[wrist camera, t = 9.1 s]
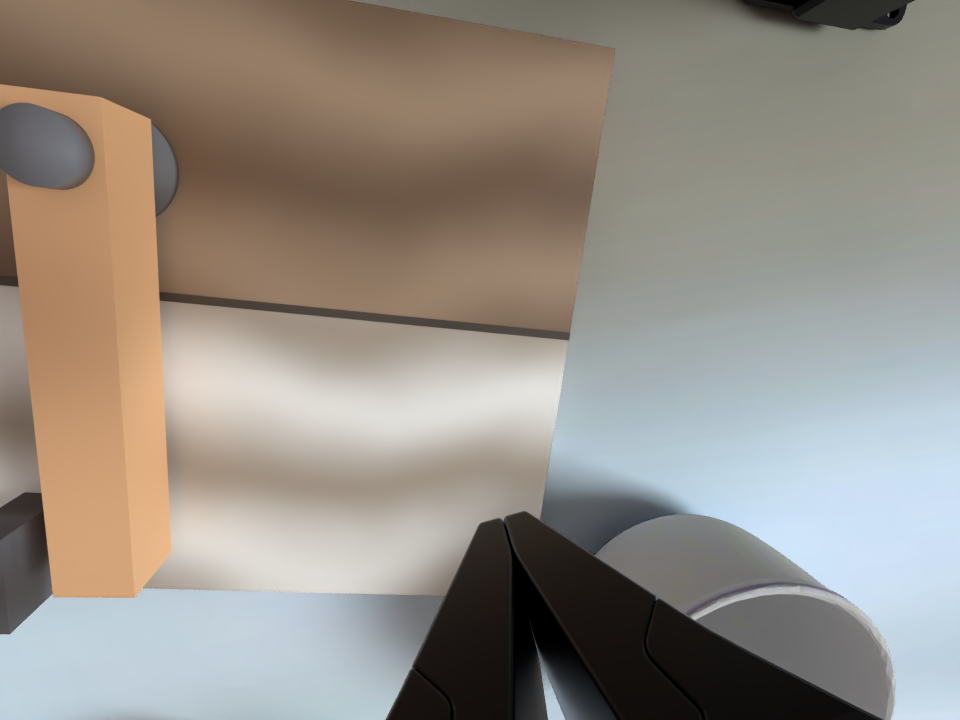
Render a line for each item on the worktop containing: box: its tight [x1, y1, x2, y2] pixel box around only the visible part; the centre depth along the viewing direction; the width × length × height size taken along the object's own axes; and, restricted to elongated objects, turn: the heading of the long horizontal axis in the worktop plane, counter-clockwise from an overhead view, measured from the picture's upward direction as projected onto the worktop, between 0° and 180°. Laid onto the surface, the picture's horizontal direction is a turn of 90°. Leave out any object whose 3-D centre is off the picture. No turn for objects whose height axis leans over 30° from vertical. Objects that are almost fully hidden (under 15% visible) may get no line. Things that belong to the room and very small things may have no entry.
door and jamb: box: [0, 0, 615, 634], centre depth 17 cm, size 22×23×4 cm
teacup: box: [595, 514, 896, 720], centre depth 21 cm, size 14×11×8 cm
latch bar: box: [0, 84, 172, 598], centre depth 16 cm, size 16×2×3 cm, turn 174°
